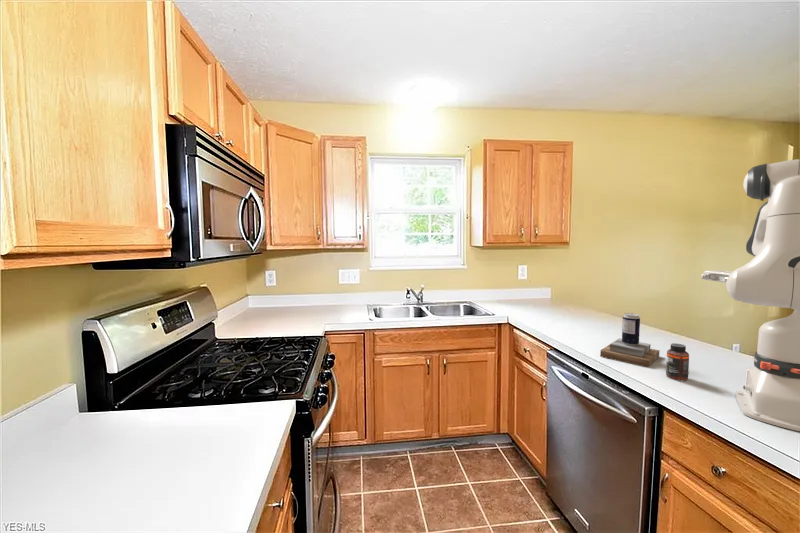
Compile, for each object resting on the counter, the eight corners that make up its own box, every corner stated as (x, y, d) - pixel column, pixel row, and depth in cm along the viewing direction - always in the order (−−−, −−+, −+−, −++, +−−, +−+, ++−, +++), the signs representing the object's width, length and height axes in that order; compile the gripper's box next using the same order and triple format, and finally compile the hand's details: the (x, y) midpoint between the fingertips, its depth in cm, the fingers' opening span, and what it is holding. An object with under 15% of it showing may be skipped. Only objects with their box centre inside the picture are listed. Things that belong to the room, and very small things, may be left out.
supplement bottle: (689, 377, 118) (691, 344, 117) (686, 382, 114) (688, 349, 113) (667, 372, 122) (668, 341, 121) (664, 377, 118) (665, 345, 117)
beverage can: (641, 346, 135) (643, 316, 134) (625, 346, 136) (626, 315, 135) (634, 342, 140) (636, 312, 139) (619, 341, 141) (620, 312, 140)
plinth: (648, 367, 127) (648, 353, 127) (600, 356, 139) (600, 344, 139) (659, 356, 138) (659, 344, 137) (613, 347, 150) (614, 335, 149)
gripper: (724, 266, 138) (690, 267, 138) (782, 271, 118) (742, 272, 117) (723, 282, 139) (689, 283, 138) (780, 290, 118) (741, 291, 118)
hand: (714, 278), depth 128 cm, fingers open, 8 cm apart
